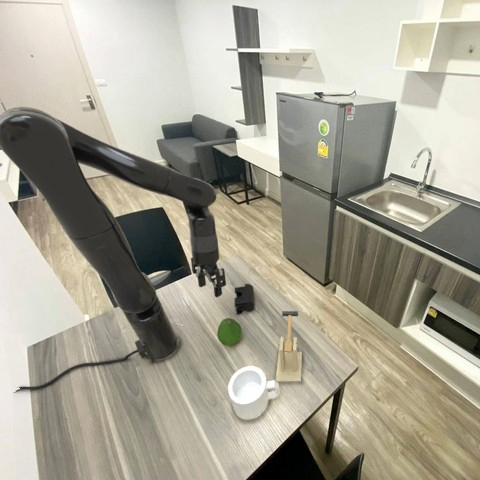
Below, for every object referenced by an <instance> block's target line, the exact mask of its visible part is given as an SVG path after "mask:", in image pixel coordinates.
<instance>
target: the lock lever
mask: <svg viewBox="0 0 480 480" xmlns="http://www.w3.org/2000/svg"><path fill="white" fill-rule="evenodd" d="M281 317H287V332H286V340H284V346H285V347H284V351H285V352H293V341H292V325H293V323H292V320H293V317H299V311H297V310H293V311H292V310H282V313H281Z"/></svg>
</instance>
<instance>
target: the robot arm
mask: <svg viewBox="0 0 480 480" xmlns="http://www.w3.org/2000/svg"><path fill="white" fill-rule="evenodd" d="M0 149H1V151H2V152H3V153H4V154H5V156H6V157H8V159H9V160H10V161H11V162H12V163H13V164H14V165H15V166H16V168H18V169H19V170H20V172H21V173H22V174H23V175H24V176H25V177H26V178H27V179H28V180H29V181H30V182H31V184H32V185H33V186H34V187H35V188H36V189H37V191H38V192H39V193H40V195H41V196H42V197H43V199H44V200H45V202H46V203H47V205H48V207H49V209H50V211H51V212H52V214H53V216H54V218H55V219H56V221H57V222H58V224H59V225H60V227H61V228H62V230H63V232H64V233H65V234H66V236H67V237H68V238H69V240H70V241H71V243H72V244H73V245H74V247H75V248H76V249H77V251H78V252H79V253H80V254H81V255H82V257H83V258H84V259H85V260H86V262H87V263H88V264H89V265H90V266H91V268H93V270H95V272H97V274H98V275H99V276H100V277H101V278H102V279H103V280H104V282H105V283H106V284H107V286H108V288H109V290H110V291H111V295H112V296H113V299H114V300H115V303H116V305H117V307H118V308H119V309H120V310H121V311H122V312H123V315H124V316H125V318H126V321H127V322H128V323H129V325H130V326H131V328H132V330H133V331H134V334H135V335H136V336H137V338H138V340H136V341H134V345H135V346H136V350H134V351H132V352H130V353H128V354H127V355H126V356H124V357H122V358H117V359H112V360H104V361H97V362H83V363H78V364H76V365H73V366H71V367H69V368H67V369H65V370H64V371H62V372H61V373H60V374H58V375H57V376H55V377H54V378H53V379H51V380H49V381H48V382H45V383H43V384H40V385H35V386H27V385H26V386H18V387H19V388H20V390H22V391H23V390H27V391H31V390H38V389H42V388H45V387H47V386H49V385H51V384H53V383H55V382H56V381H57V380H59V379H60V378H61V377H63V376H64V375H65V374H67V373H69V372H70V371H72V370H75V369H77V368H80V367H86V366H87V367H88V366H100V365H105V364H106V365H107V364H114V363H119V362H123V361H127V360H128V359H129V358H130V357H131V356H133V355H135V354H137V353H138V355H139V356H140V358H141V359H144V358H146V357H148V359H149V361H150V362H151V363H156V362H162V361H166V360H168V359H170V358H171V357H173V356H174V355H175V354H176V352H177V351H178V349H179V347H180V340H179V337H178V336H177V334H176V332H175V330H174V328H173V326H172V324H171V321H170V319H169V318H168V315H167V313H166V311H165V309H164V306H163V304H162V302H161V300H160V299H159V296H158V294H157V290H156V287H155V285H154V284H153V282H152V281H151V280H150V277H149V276H148V275H147V274H146V273H145V272H143V271H141V269H140V268H139V266H138V264H137V261H136V259H135V257H134V253H133V251H132V249H131V246H130V244H129V241H128V240H127V237H126V235H125V233H124V231H123V229H122V228H121V226H120V224H119V222H118V220H117V219H116V217H115V215H114V214H113V211H111V210H110V208H109V207H108V205H106V203H105V202H104V201H103V199H101V198H100V196H99V195H98V194H97V193H96V192H95V190H94V189H93V188H92V187H91V185H90V184H89V182H88V180H87V178H86V177H85V174H84V172H83V170H82V168H81V166H80V165H83V166H86V167H89V168H92V169H95V170H97V171H99V172H101V173H105V174H107V175H109V176H111V177H114V178H116V179H117V180H120V181H122V182H123V183H124V182H125V184H129V185H131V186H133V187H135V188H139V189H142V190H145V191H148V192H152V193H155V194H158V195H161V196H167V197H170V198H173V199H176V200H178V201H180V202H182V204H183V208H184V211H185V214H186V216H187V219H188V228H189V235H190V236H189V237H190V238H189V241H190V248H191V255H192V257H191V258H190V263H191V264H190V265H191V272H192V274H193V275H195V277H196V278H197V283H198V287H199V288H203V287H205V286H206V285H207V282H206V278H207V279H208V282H209V283H211V284H212V286H213V292H214V294H213V295H214V297H215V298H219V297H221V296H222V295H223V287H226V286H227V279H226V271H225V269H224V268H222V267H221V268H219V267H218V264H217V263H218V261H219V260H220V250H219V240H218V239H219V238H218V235H217V227H216V219H215V216H214V214H213V213H212V212H211V211H210V208H209V207H211V206H212V205H214V204H215V202H216V200H217V191H216V189H215V187H214V186H213V185H211V184H210V183H209V182H207V181H204V180H202V179H200V178H197V177H192V176H189V175H186V174H184V173H180V172H178V171H177V170H175V169H173V168H171V167H169V166H166V165H163V164H160V163H158V162H155V161H154V160H153V161H152V160H150V159H148V158H145V157H141V156H139V155H136V154H134V153H131V152H129V151H126V150H123V149H121V148H118V147H117V146H116V147H115V146H113V145H111V144H108V143H107V142H104V141H101V140H100V139H98V138H95V137H93V136H91V135H89V134H87V133H85V132H82V130H79V129H78V128H75V127H73V126H71V125H69V124H68V123H66V122H64V121H63V120H60V119H59V118H57V117H55V116H53V115H52V114H49V113H48V112H46V111H44V110H42V109H39V108H36V107H35V108H34V107H31V106H15V107H11V108H8V109H6V110H5V111H3V112H2V113H1V114H0ZM20 390H19V391H20Z"/></svg>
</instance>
